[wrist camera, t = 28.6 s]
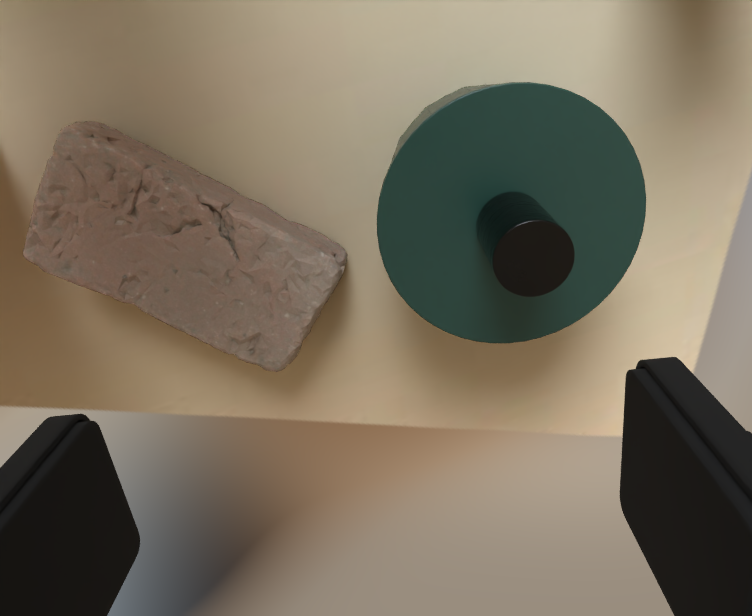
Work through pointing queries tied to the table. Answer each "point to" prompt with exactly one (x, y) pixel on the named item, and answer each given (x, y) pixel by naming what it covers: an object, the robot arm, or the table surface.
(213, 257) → the brick
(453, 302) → the pot lid
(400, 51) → the table surface
